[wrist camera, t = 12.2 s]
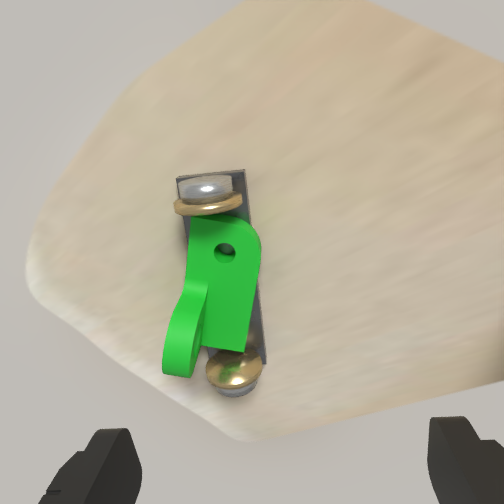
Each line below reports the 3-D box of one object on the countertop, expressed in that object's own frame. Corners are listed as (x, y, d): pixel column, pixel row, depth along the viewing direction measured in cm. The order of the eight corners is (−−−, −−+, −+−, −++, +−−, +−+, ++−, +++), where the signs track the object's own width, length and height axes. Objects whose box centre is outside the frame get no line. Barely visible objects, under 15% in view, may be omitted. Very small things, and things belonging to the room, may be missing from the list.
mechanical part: (245, 339, 34) (238, 402, 27) (184, 329, 34) (160, 389, 27) (266, 221, 30) (264, 258, 22) (196, 210, 30) (170, 243, 22)
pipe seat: (245, 169, 29) (238, 182, 24) (266, 356, 36) (265, 400, 31) (179, 176, 30) (158, 190, 24) (212, 359, 37) (202, 403, 31)
